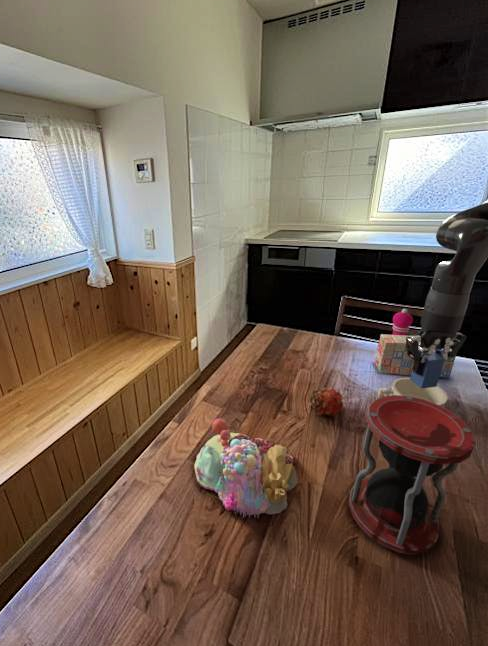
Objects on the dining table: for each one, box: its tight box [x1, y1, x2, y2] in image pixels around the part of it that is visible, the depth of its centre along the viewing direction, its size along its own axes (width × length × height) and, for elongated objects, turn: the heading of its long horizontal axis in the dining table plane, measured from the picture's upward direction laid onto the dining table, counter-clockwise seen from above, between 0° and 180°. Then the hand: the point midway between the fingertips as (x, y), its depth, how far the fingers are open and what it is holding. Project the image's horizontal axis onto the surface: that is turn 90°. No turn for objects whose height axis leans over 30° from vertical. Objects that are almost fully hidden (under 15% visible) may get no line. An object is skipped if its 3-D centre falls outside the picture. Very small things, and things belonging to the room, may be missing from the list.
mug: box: [376, 376, 449, 409], centre depth 100 cm, size 17×14×6 cm
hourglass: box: [348, 395, 476, 556], centre depth 65 cm, size 16×16×25 cm
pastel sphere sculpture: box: [193, 418, 299, 519], centre depth 80 cm, size 25×24×9 cm
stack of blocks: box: [374, 333, 457, 379], centre depth 115 cm, size 21×6×12 cm, turn 76°
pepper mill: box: [391, 308, 414, 335], centre depth 121 cm, size 7×7×20 cm
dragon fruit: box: [309, 387, 344, 418], centre depth 99 cm, size 8×8×12 cm
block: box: [409, 352, 445, 389], centre depth 82 cm, size 4×4×8 cm
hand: (426, 372), depth 83 cm, fingers closed on block, 4 cm apart
